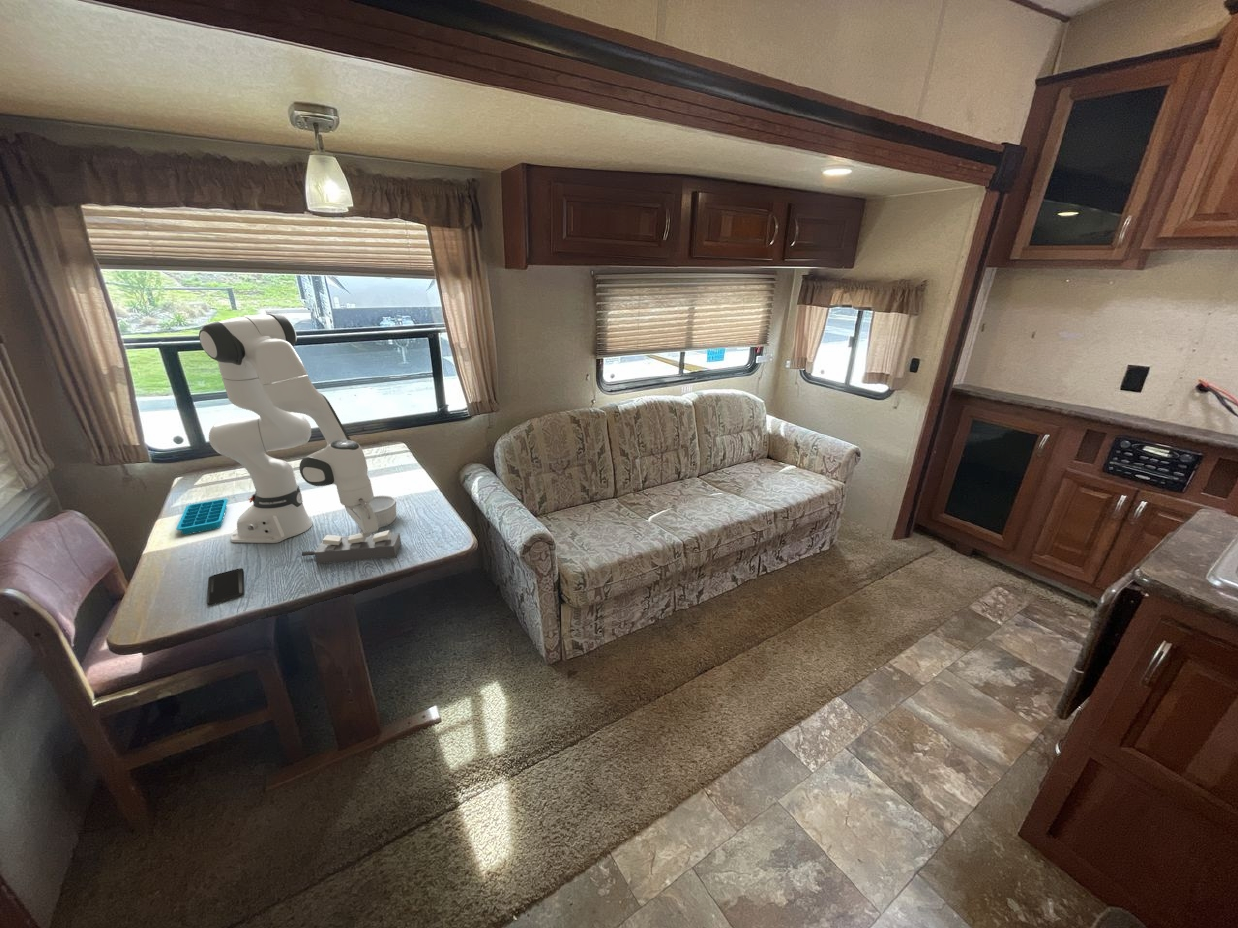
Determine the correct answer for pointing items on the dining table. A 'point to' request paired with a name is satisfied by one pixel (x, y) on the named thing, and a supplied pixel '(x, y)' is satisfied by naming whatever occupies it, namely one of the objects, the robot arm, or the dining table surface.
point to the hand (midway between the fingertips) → (365, 535)
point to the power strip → (356, 550)
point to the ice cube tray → (202, 516)
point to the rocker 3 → (381, 536)
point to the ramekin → (384, 509)
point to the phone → (225, 586)
